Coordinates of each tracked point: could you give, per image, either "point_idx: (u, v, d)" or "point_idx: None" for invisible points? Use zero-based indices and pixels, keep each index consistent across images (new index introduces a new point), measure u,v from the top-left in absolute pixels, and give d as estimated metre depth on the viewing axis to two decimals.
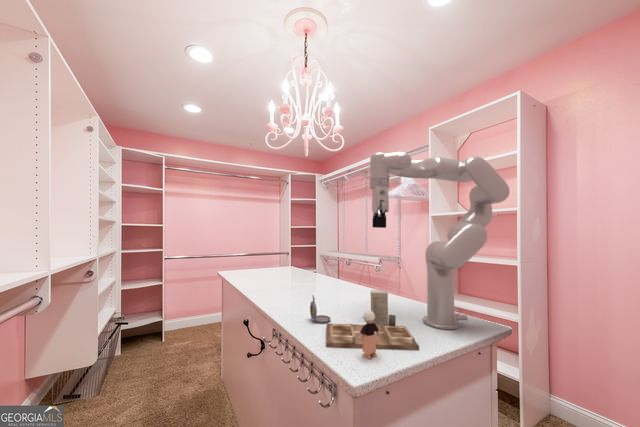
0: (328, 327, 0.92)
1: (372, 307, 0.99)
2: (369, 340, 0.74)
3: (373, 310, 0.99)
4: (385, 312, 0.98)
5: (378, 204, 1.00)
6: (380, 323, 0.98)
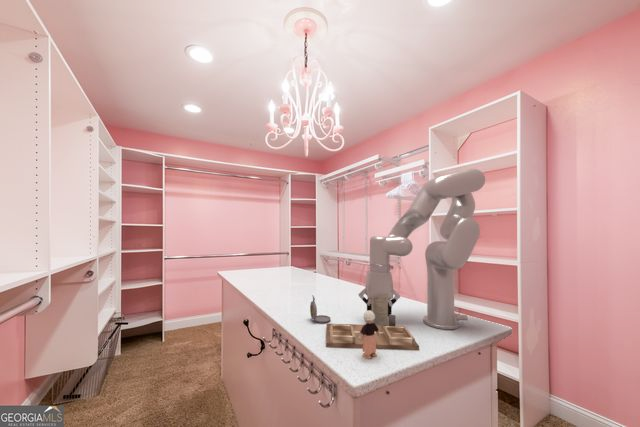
0: (328, 327, 0.92)
1: (372, 307, 0.99)
2: (369, 340, 0.74)
3: (373, 310, 0.99)
4: (385, 312, 0.98)
5: (393, 291, 1.00)
6: (380, 323, 0.98)
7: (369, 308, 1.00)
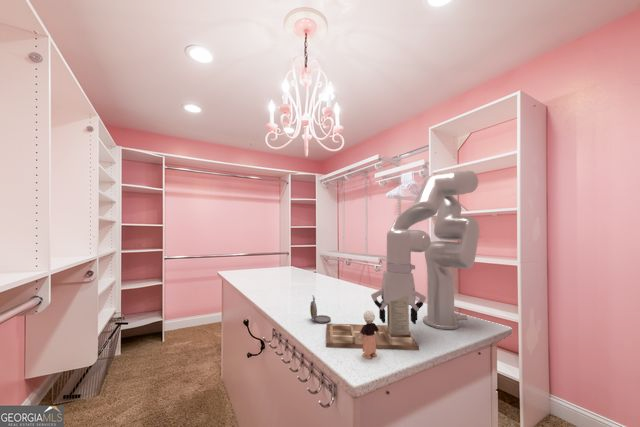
0: (328, 327, 0.92)
1: (390, 313, 0.83)
2: (369, 340, 0.74)
3: (391, 316, 0.83)
4: (405, 318, 0.82)
5: None
6: (399, 332, 0.82)
7: (382, 313, 0.84)
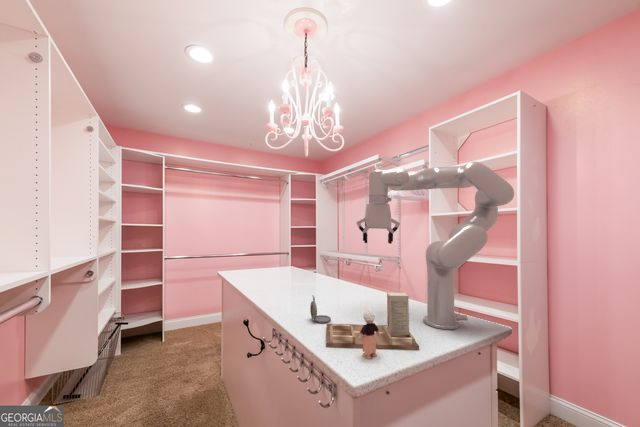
0: (328, 327, 0.92)
1: (390, 313, 0.83)
2: (369, 340, 0.74)
3: (391, 316, 0.83)
4: (405, 318, 0.82)
5: (391, 221, 1.05)
6: (399, 332, 0.82)
7: (365, 235, 1.05)
